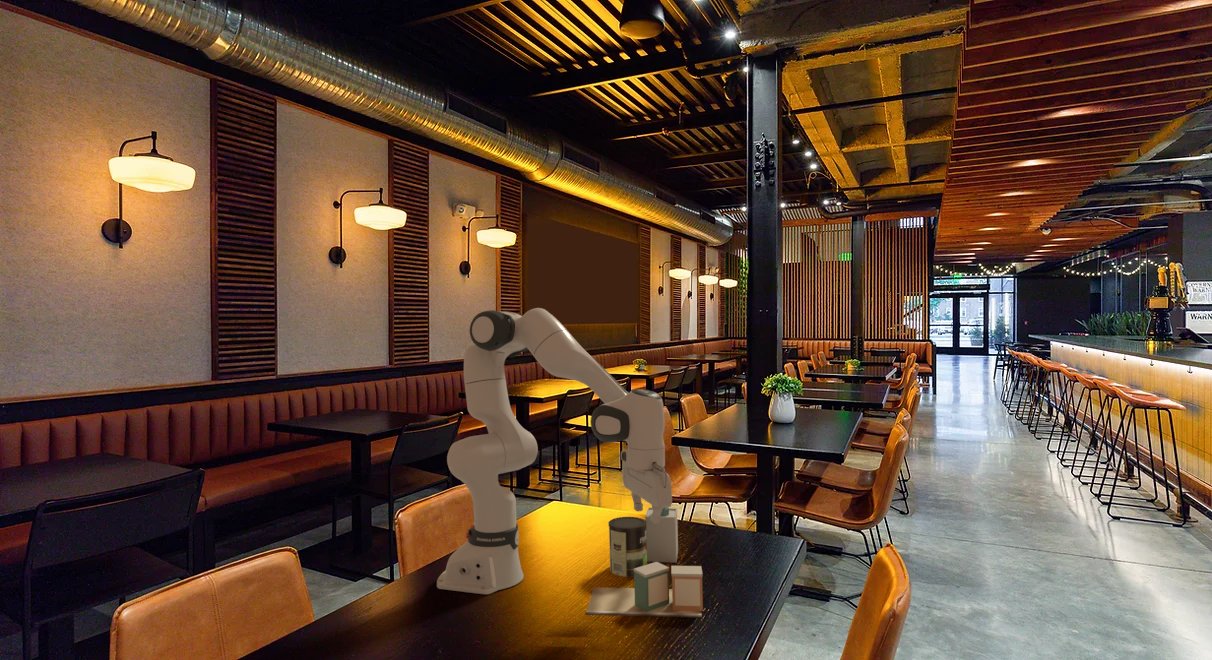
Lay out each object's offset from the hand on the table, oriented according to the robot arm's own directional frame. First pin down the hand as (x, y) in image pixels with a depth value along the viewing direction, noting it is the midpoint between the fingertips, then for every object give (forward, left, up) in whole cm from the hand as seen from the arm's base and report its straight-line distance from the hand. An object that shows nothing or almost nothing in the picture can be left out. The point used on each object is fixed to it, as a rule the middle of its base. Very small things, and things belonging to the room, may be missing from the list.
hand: (646, 516), depth 140 cm
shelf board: (-1, 0, -21) cm, 21 cm away
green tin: (+1, -2, -20) cm, 20 cm away
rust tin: (+9, -3, -20) cm, 22 cm away
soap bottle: (+3, +31, -22) cm, 38 cm away
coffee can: (-6, +18, -22) cm, 29 cm away
